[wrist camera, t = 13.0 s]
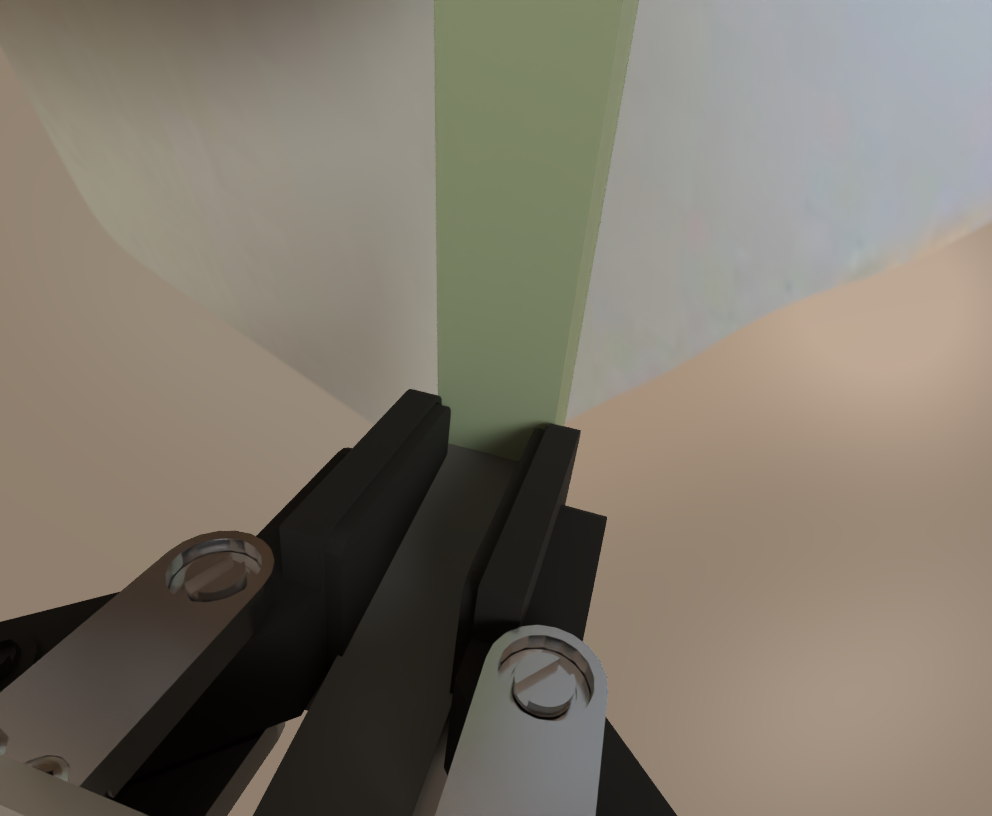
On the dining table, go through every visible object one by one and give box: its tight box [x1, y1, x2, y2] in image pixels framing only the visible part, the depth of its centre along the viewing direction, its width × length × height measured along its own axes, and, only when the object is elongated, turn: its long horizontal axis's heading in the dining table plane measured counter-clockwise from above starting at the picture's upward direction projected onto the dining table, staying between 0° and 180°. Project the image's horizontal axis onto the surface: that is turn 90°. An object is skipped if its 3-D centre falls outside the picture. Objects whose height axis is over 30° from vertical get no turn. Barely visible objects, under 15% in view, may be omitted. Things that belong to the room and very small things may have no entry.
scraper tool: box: [253, 0, 639, 816], centre depth 7 cm, size 2×10×8 cm, turn 173°
